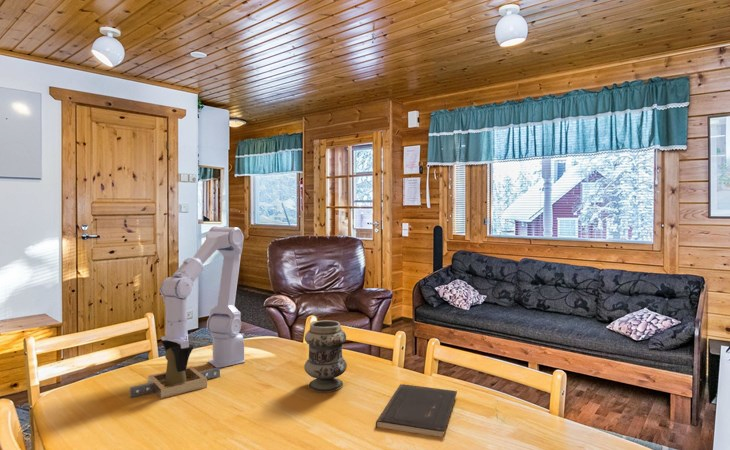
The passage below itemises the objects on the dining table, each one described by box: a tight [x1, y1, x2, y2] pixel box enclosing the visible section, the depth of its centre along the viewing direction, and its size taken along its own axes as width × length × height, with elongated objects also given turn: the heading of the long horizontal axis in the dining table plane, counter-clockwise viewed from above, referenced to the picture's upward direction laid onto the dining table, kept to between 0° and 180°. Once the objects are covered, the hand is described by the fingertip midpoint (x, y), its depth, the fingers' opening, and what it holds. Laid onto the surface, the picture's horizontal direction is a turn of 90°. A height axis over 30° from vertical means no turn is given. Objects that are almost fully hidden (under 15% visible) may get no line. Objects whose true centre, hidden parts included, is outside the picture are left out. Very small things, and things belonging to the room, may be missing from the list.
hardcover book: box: [375, 383, 458, 438], centre depth 118 cm, size 16×23×2 cm
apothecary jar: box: [303, 319, 348, 393], centre depth 134 cm, size 12×12×18 cm
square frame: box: [129, 366, 221, 400], centre depth 134 cm, size 24×12×2 cm, turn 129°
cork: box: [163, 348, 188, 387], centre depth 133 cm, size 6×6×11 cm
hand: (177, 367), depth 133 cm, fingers open, 7 cm apart
